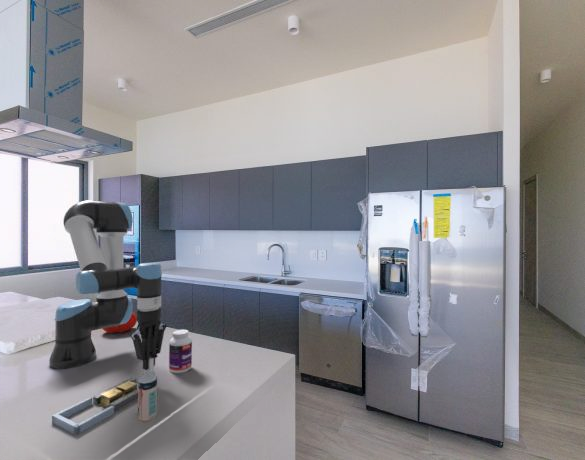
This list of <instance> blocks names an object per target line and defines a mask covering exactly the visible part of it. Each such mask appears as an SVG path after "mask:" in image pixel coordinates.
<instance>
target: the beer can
mask: <svg viewBox="0 0 585 460" xmlns="http://www.w3.org/2000/svg"><path fill="white" fill-rule="evenodd" d="M137 385H138V399H137V418H138V420H139V421H141V422H146V421H151V420H152V419H154V418H156V416H157V413H158V412H157V411H158V403H157V402H158V376H157V374H156V373H155V372H148V373H142V374H141V375H140V376H139V378H138V381H137Z"/></svg>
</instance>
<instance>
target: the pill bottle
mask: <svg viewBox="0 0 585 460" xmlns="http://www.w3.org/2000/svg"><path fill="white" fill-rule="evenodd" d="M168 343H169V345H168V346H169V347H168V348H169V349H168V351H169V352H168V370H169V372H171V373H173V374H181V373H185V372H188V371H190V369H191V368H192V363H193V361H192V360H193V356H192V355H193V353H192V352H193V340H192V337H191V336H189V330H187V329H177V330H175V331H173V332H172V338H171V339H170V340H169V342H168Z"/></svg>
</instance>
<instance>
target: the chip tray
mask: <svg viewBox="0 0 585 460" xmlns="http://www.w3.org/2000/svg"><path fill="white" fill-rule="evenodd" d="M92 405H93V396H92V397H91V396H89V397H87V398H85V399H83V400H81V401H79V402H77V403H75V404H73V405H70V406H68V407H67V408H65V409H62V410H60V411H59V412H56V413H55V414H53V415H51V423H52V424H54V425H55V426H58V427H60V428H62V429H63V430H66V431H68V432H69V433H71V434H73V435H75V436H77V435H79V434H80V433H82V432H84V431H86V430H88V429H89V428H91V427H93V426H95V425H96V424H98V423H99V422H101V421H103V420H105V419H106V418H108V417H110V416H112V415H114V414H115V412H114V406H110V407H108V408H105V409H103V410H101V411H98V412H97V413H95V414H94V415H92V416H90V417H88V418H86V419H85V420H83V421H80V422H78V423H77V422H75V421H72V420H71V419H69V418H68V417H70V416H72V415H74V414H76V413H78V412H81V410H85V409H86V408H87V407H89V406H92Z"/></svg>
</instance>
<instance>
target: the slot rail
mask: <svg viewBox="0 0 585 460" xmlns="http://www.w3.org/2000/svg"><path fill="white" fill-rule="evenodd" d="M127 381H131V382H134V383H136V384H137V378H136V377H130V378H128V379H125V380H124V381H122V382H120V383H118V384H116V385H114V386H111V387H110V388H108V389H106V390H104V391H102V392H100V393H97V394H96V395H94V396H92V404H95V405H98V406H99V407H102V408H105V409H106V408H108V407H106V406H103V405H101V394H103V393H105V392H107V391H109V390H111V389H113V388H115V389H117V386H119V385H121V384H123V383H125V382H127ZM136 400H138V384H137V389H136V390H134V391H132V392H130V393H129V394H127V395H125V396H123V397H121V398H119V399H117V400H115V401H114V402H112V403H110V406H114V413H115V412H116V411H119V410H120V409H122V408H124V407H126V406H128V405H129V404H131V403H132V402H134V401H136Z"/></svg>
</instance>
